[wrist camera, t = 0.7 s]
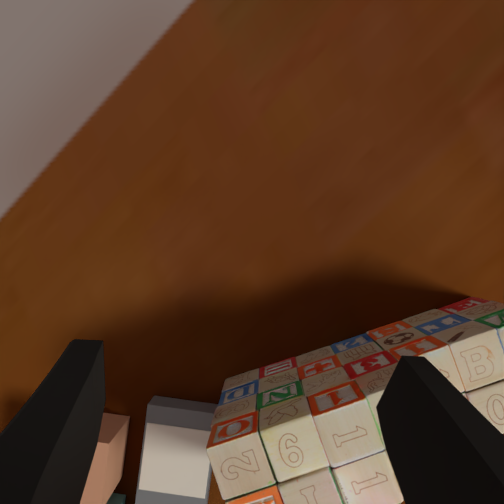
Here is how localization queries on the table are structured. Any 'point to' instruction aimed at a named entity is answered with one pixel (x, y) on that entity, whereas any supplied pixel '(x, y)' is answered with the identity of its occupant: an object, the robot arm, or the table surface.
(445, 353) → the stack of blocks
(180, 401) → the base plate
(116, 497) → the teal cube
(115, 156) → the table surface
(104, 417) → the salmon orange cube
